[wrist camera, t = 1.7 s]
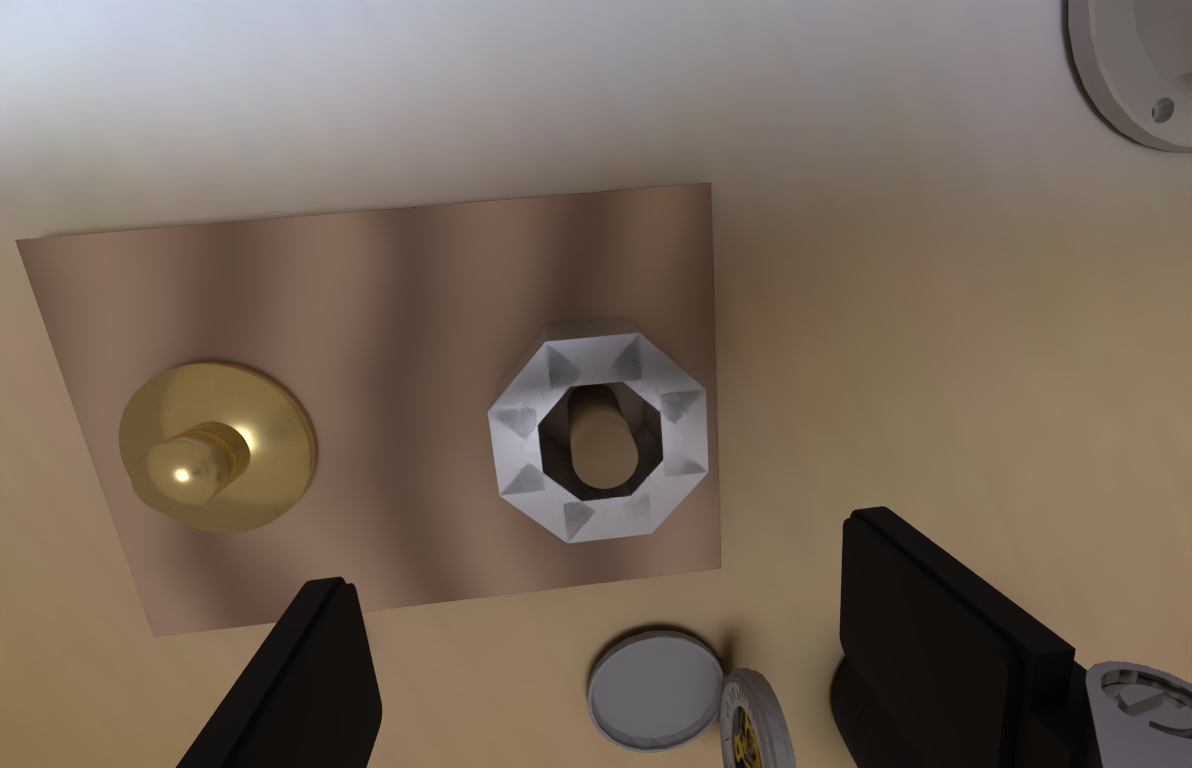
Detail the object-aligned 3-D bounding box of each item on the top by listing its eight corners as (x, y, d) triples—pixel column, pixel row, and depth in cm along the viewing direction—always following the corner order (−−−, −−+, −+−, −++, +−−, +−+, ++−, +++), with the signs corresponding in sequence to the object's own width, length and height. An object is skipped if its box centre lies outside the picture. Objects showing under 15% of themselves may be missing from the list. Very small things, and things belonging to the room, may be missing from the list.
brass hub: (297, 351, 20) (250, 372, 17) (334, 512, 22) (297, 558, 19) (111, 369, 20) (27, 394, 17) (163, 531, 22) (96, 582, 18)
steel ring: (675, 310, 21) (703, 326, 17) (683, 477, 23) (710, 526, 19) (491, 327, 21) (478, 347, 17) (514, 496, 22) (507, 550, 19)
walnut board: (702, 185, 21) (711, 182, 20) (713, 553, 25) (721, 568, 24) (46, 240, 20) (15, 239, 19) (173, 617, 24) (154, 637, 23)
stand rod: (615, 379, 22) (635, 423, 16) (619, 427, 22) (640, 485, 17) (564, 385, 21) (569, 430, 16) (569, 433, 22) (575, 492, 17)
